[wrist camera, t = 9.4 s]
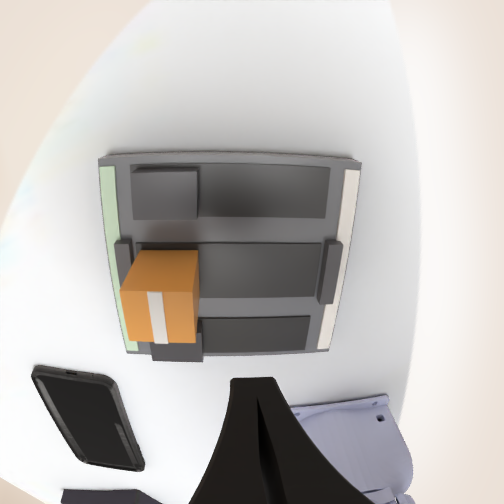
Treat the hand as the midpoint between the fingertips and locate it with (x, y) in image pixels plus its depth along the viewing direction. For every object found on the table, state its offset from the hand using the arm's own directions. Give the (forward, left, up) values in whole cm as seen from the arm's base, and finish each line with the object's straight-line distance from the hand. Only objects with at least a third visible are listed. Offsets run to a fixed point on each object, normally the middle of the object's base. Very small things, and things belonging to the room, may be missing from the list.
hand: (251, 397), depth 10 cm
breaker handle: (+4, 0, -8) cm, 9 cm away
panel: (+1, 0, -9) cm, 9 cm away
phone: (+13, +17, -10) cm, 23 cm away
